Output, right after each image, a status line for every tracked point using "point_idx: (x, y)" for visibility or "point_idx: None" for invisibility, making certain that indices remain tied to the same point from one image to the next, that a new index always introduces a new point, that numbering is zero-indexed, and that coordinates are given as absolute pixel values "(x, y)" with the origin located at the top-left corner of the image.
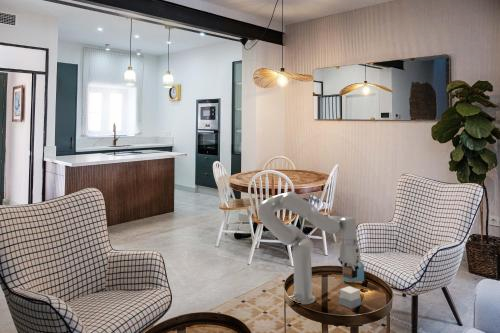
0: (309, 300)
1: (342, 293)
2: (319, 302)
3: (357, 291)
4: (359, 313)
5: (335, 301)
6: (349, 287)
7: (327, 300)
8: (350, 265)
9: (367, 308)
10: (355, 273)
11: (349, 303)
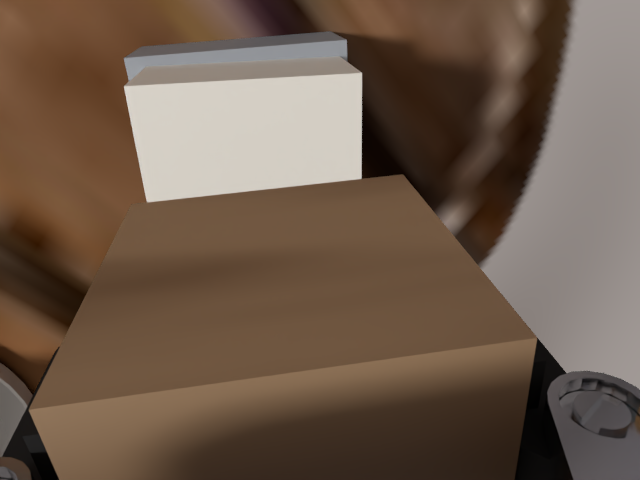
0: (4, 426)
1: None
2: (50, 342)
3: (360, 129)
4: (446, 207)
5: (108, 208)
6: (185, 131)
7: (43, 257)
8: (150, 416)
9: (438, 58)
10: None
11: None
